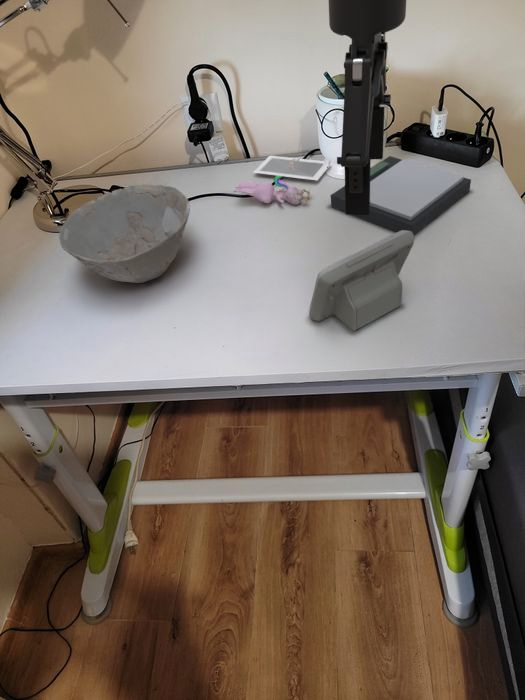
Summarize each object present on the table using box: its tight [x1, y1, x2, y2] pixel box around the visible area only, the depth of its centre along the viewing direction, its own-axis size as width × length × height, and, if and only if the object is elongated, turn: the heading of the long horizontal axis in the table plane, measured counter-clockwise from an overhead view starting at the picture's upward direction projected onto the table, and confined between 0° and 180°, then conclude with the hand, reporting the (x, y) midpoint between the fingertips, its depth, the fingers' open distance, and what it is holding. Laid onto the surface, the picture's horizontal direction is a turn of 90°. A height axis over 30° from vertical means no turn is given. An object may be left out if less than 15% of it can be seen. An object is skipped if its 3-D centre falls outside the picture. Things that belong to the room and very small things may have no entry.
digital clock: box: [308, 230, 415, 332], centre depth 73 cm, size 16×9×11 cm, turn 109°
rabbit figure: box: [233, 175, 311, 206], centre depth 99 cm, size 6×6×15 cm
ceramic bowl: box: [58, 184, 191, 284], centre depth 88 cm, size 22×23×10 cm
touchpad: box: [252, 155, 328, 181], centre depth 108 cm, size 8×15×2 cm, turn 62°
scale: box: [330, 155, 472, 236], centre depth 94 cm, size 18×18×3 cm
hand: (365, 184), depth 64 cm, fingers open, 13 cm apart
